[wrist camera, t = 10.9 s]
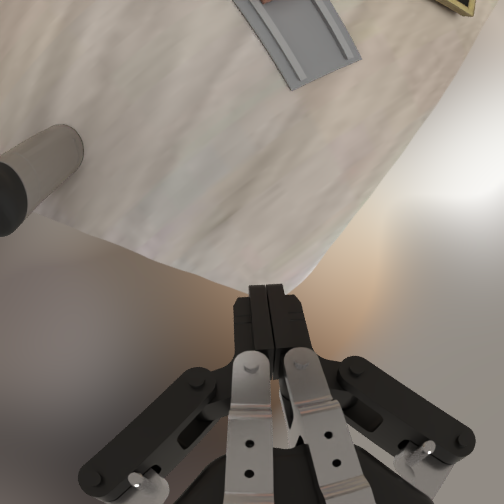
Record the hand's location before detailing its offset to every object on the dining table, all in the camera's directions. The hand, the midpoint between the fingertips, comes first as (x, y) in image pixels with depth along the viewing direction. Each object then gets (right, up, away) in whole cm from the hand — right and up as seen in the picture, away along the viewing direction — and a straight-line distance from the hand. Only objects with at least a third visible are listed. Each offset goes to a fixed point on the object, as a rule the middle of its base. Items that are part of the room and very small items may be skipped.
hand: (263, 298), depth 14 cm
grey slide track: (+3, +38, +16) cm, 42 cm away
